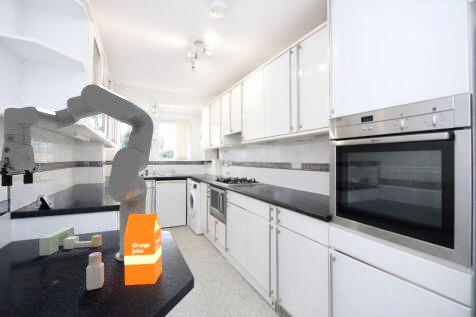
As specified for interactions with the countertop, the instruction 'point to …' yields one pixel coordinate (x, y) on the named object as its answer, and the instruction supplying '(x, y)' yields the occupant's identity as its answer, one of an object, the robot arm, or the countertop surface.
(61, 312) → the countertop surface
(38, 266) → the countertop surface
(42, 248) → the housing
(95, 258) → the salt shaker
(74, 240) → the plug
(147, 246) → the orange juice
